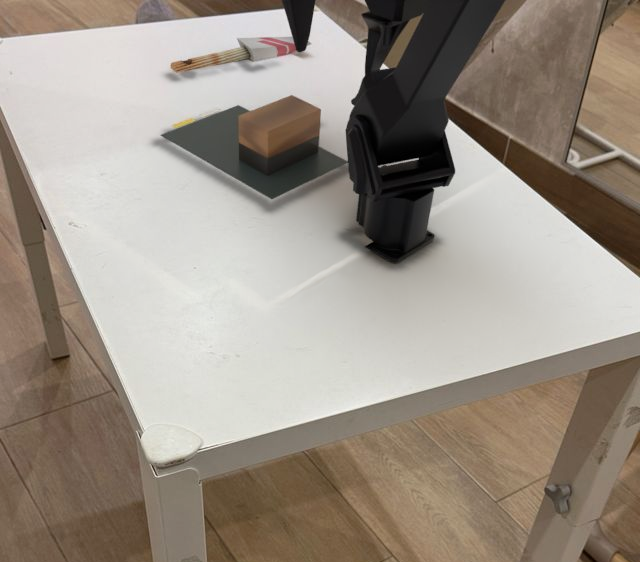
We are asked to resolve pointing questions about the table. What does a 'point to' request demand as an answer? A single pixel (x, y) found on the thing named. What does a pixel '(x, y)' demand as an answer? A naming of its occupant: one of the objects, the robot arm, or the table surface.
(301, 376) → the table surface
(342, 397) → the table surface
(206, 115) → the chalk strip white
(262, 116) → the eraser
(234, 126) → the slate board
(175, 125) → the chalk strip yellow
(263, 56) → the chopsticks in paper sleeve
